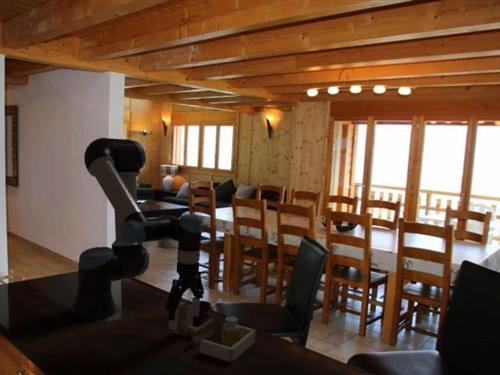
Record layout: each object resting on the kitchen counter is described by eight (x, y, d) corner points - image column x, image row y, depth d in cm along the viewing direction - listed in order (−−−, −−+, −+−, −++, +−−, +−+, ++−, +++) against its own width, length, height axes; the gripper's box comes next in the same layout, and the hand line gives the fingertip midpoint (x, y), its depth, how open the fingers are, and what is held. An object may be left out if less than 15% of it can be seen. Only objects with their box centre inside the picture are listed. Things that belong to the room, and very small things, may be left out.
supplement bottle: (218, 344, 142) (220, 316, 142) (234, 342, 144) (236, 314, 144) (224, 351, 137) (226, 322, 137) (239, 350, 140) (242, 321, 139)
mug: (201, 327, 155) (202, 308, 154) (180, 319, 160) (182, 301, 160) (213, 322, 160) (214, 304, 160) (193, 314, 166) (194, 297, 165)
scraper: (166, 337, 144) (168, 308, 143) (186, 325, 155) (188, 298, 154) (195, 346, 139) (197, 316, 139) (214, 333, 150) (216, 305, 149)
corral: (199, 352, 136) (200, 340, 135) (226, 333, 151) (227, 322, 151) (231, 362, 131) (232, 350, 131) (255, 341, 147) (256, 330, 146)
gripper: (176, 271, 133) (171, 338, 135) (216, 256, 156) (212, 313, 158) (156, 267, 136) (152, 332, 138) (198, 252, 159) (194, 308, 161)
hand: (184, 322), depth 148 cm, fingers open, 13 cm apart
